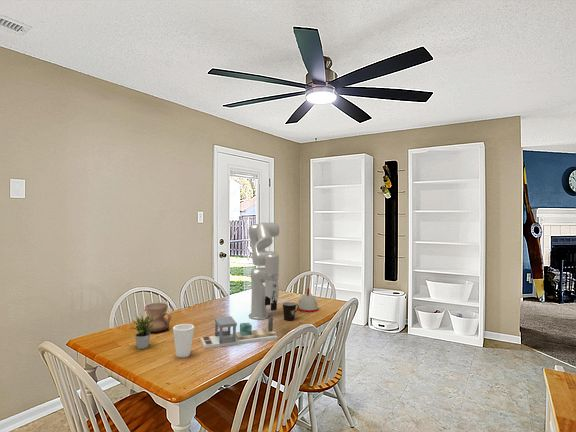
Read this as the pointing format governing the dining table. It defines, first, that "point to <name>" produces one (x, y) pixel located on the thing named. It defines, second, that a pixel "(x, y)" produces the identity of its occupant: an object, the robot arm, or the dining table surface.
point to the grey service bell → (308, 303)
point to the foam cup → (183, 339)
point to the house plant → (143, 331)
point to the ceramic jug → (160, 311)
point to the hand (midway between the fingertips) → (270, 307)
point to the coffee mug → (289, 310)
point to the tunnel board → (229, 335)
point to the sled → (249, 333)
